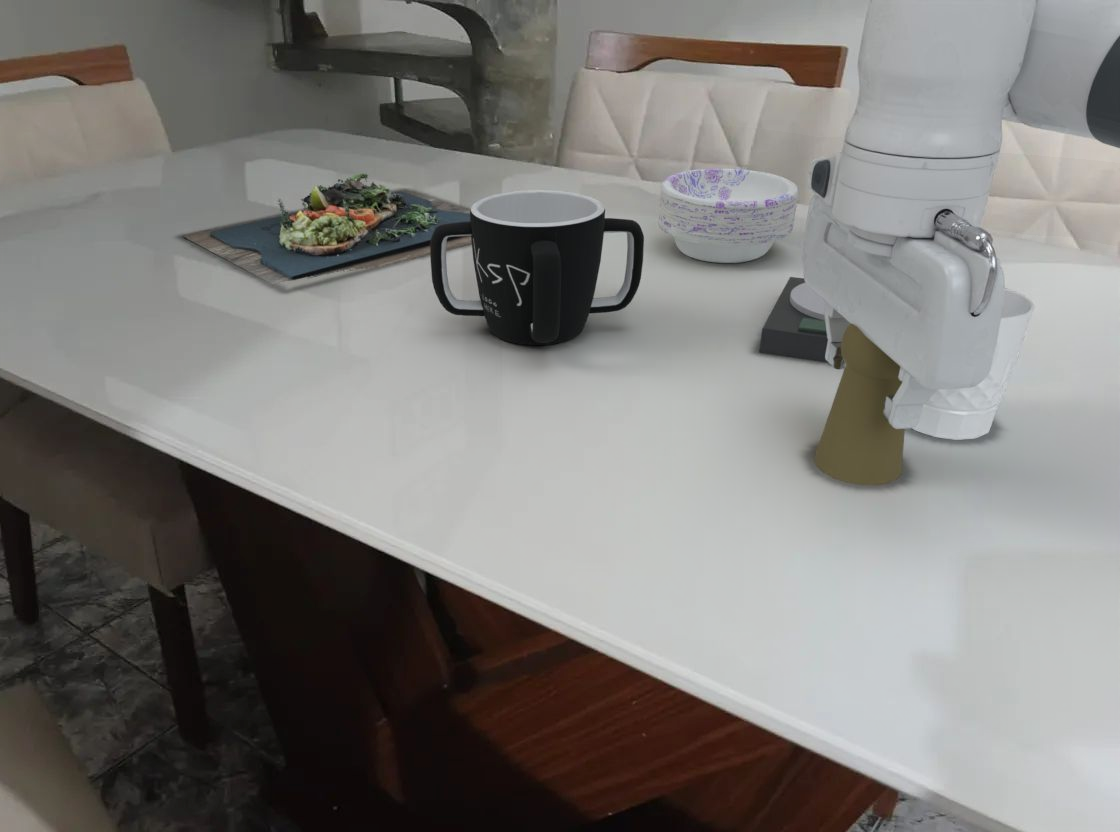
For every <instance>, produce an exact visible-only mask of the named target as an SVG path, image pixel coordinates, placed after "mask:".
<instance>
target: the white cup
mask: <svg viewBox="0 0 1120 832" xmlns="http://www.w3.org/2000/svg"><path fill="white" fill-rule="evenodd" d="M1034 311H1035V303H1034V302H1033V301H1032V300H1031V299H1030V297H1028V296H1026V295H1024V294H1022V293H1020V292H1018V291H1016V290H1013V289H1010V288H1007V287H1005V289H1004V301H1003V308H1002V315H1001V321H1000V327H999V333H998V338H997V343H996V348H995V353H994V357H993V362H992V366H991V369H990V372H989V374H988V376H987V377H986V378H985V379H984V380H983V381H982V382H980V383H979V384H978V385H977V386H975V387H970V388H959V389H937V390H936V392H935V393H934V394H933V395H932V396H931V397H930V398H929V399H928V400H927V402H926V403H925V404H923V407H922V411H921V415H920V419H919V422H918V424H917V425H916V426H915V427H913V428H911V429H912V430H914V431H915V432H918V433H921V434H924V435H927V436H930V437H934V438H937V439H944V440H954V441H962V440H974V439H978V438H980V437H983V436H985V435H987V434H989V432H990V430H991V428H992V425H993V422H994V419H995V416H996V414H997V409H998V408H999V405H1000V402H1001V401H1002V400H1003V399H1004V396H1005V393H1006V390H1007V387H1008V385H1009V383H1010V380H1011V377H1012V373H1013V370H1014V368H1015V366H1016V364H1017V362H1018V361H1017V360H1018V357H1019V355H1020V352H1021V349H1022V345H1023V342H1024V339H1025V337H1026V333H1027V331H1028V328H1029V325H1030V323H1031V320H1032V317H1033V313H1034Z"/></svg>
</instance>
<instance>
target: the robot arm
mask: <svg viewBox="0 0 1120 832" xmlns="http://www.w3.org/2000/svg"><path fill="white" fill-rule="evenodd" d="M857 75H858V88H859V89H858V98H857V103H856V107H855V109H854V112H853V115H852V116H851V119H850V121H849V122H848V124H847V127H846V130H845V133H844V140H843V144H842V150H841V152H837V153H835V154H829V155H824V156H820V157H817V158H814V159H813V160H811V162H810V165H809V170H808V174H807V175H808V176H807V188H808V189H809V191H810V192H811V193H813V196H812V197H811V199H810V201H809V205H808V208H807V214H806V221H805V228H804V237H803V247H802V257H801V266H802V275H803V278H804V280H805V283H806V285H807V286H808V287H810V288H811V289H812V290H813V291H814V292H815V293H817V294H818V295H819V296H820V297H821V298H822V299H823V300H825V301H826V305H825V310H824V315H825V323H826V331H827V338H828V343H827V348H826V354H825V359H826V360H827V361H828V362H829V363H828V364H829V365H830V366H832V367H833V368H834V369H836V370H842V369H845V366H846V363H845V361H844V359H843V357H842V354H841V343H842V338H843V334H844V332H845V330H846V328H847V327H848V326H849V325H850V324H854V325H855V326H857V327H858V328H859V329H860V330H861V331H862V332H863V334H864V335H865V336H866V337H867V338H868V339H869V340H870V341H872V342H873V343H874V344H875V345H876V346H877V347H878V348H880V349H881V350H882V351H883V352H884V353H885V354H886V355H888V356H889V357H890V358H891V359H892V360H893V361H894V362H896V363H897V364H898V365H899V366H900V371H899V376H898V378H899V380H900V381H903V382H902V384H901V386H900V387H899V389H898V391H897V392H896V394H895V395H886V400H885V409H884V410H883V413H882V415H883V417H884V418H885V419H886V420H887V421H888V423H889V424H891V426H892V427H894V428H895V429H905V430H906V429H912V428H913V427H915V426H916V425H917V424H918V422H919V419H920V415H921V411H922V407H923V404H925V403H926V402H927V400H928V399H929V398H930V397H931V396H932V395H933V394H934V393H935V392H936V390H937V389H959V388H970V387H975V386H977V385H978V384H979V383H980V382H982V381H983V380H984V379H985V378H986V377H987V376H988V374H989V372H990V369H991V366H992V362H993V357H994V353H995V348H996V343H997V338H998V333H999V327H1000V321H1001V315H1002V308H1003V301H1004V289H1005V288H1006V286H1005V285H1006V283H1005V273H1004V270H1003V268H1002V266H1001V261H1000V258H998V257H997V254H996V250H995V247H994V246H993V242H994V239H993V236H992V235H991V233H989V231H987V230H986V229H984V228H982V227H981V226H982V222H983V220H984V215H985V212H986V207H987V204H988V199H989V196H990V192H991V188H992V185H993V181H994V177H995V174H996V173H995V172H996V169H997V164H998V161H999V157H1000V154H1001V148H1002V144H1003V126H1002V125H1003V121H1006V122H1012V123H1016V124H1022V125H1024V126H1027V127H1030V128H1034V129H1037V130H1038V129H1039V130H1044V131H1049V132H1055V133H1059V134H1064V135H1071V136H1075V137H1080V138H1085V139H1086V138H1087V139H1091V140H1096V141H1098V142H1100V143H1101V144H1104V145H1106V146H1107V145H1108V146H1111V147H1115V148H1118V149H1120V0H869V1H868V5H867V10H866V14H865V18H864V23H863V29H862V35H861V40H860V45H859V52H858V58H857Z"/></svg>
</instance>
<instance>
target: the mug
mask: <svg viewBox="0 0 1120 832" xmlns="http://www.w3.org/2000/svg"><path fill="white" fill-rule="evenodd" d="M469 210H470V221H469V222H457V223H449V224H443V225H440V226H438V227H437V228H436V229H435V230H434V232H433V235H432V237H431V241H430V255H429V256H430V272H431V282H432V286H433V290H434V292H435V295H436V297H437V299H438V301H439V303H440V304H441V306H442V307H443V308H444V310H445V311H447V312H448V313H450V314H452V315H454V316H463V317H484V319H485V321H486V324H487V328H488V329H489V330H490V332H491V333H492V334H493V335H494V336H496V337H498V338H499V339H501V340H504V341H506V342H510V343H513V344H516V345H517V344H518V345H525V346H546V345H553V344H554V345H555V344H560V343H563V342H566V341H569V340H572V339H573V338H574V337H576V336H578V335H580V334H581V333H582V332H583V330H584V328H585V326H586V324H587V321H588V318H589V315H590V314H604V313H613V312H614V313H615V312H618V311H621V310H623V309H626V307H628V305H629V304H630V303H631V302H632V301H633V299H634V297H635V295H636V294H637V292H638V290H639V288H640V287H639V286H640V284H641V279H642V275H643V274H642V271H643V264H644V250H645V249H644V247H645V246H644V245H645V235H644V232H643V229H642V227H641V225H640V223H638V222H637V221H635V220H634V219H627V218H616V217H615V218H613V217H606V208H605V205H604V204H603V203H602V202H601V201H600V200H597V199H596V198H594V197H591V196H589V195H585V194H583V193H576V192H571V191H567V190H566V191H565V190H554V189H553V190H552V189H526V190H525V189H523V190H512V191H507V192H501V193H496V194H492V195H489V196H486V197H484V198H480V199H478V200H477V201H476V202H475V203H473V204H472V205H471V207H470V209H469ZM607 233H608V234H609V233H611V234H612V233H613V234H614V233H626V241H627V245H626V246H627V250H626V265H625V272H624V280H623V282H622V285H621V287H620V289H619V291H618V292H617V294H615V295H611V296H606V297H605V296H603V297H595V291H596V288H597V282H598V277H599V272H600V266H601V262H602V253H603V245H604V237H605V236H604V235H605V234H607ZM452 236H471V241H472V244H471V251H472V260H473V261H472V262H473V267H474V272H475V273H474V274H475V277H476V284H477V290H478V295H479V300H462V299H457V298H456V296H455V295H454V294H453V293H452V290H451V288H450V283H449V277H448V266H447V250H446V244H447V238H448V237H452Z"/></svg>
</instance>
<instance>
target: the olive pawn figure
mask: <svg viewBox="0 0 1120 832" xmlns="http://www.w3.org/2000/svg"><path fill="white" fill-rule="evenodd" d="M841 354H842V357H843V359H844V361H845V363H846V366H845V368H843V371H842V374H841V378H840V381H839V383H838V387H837V388H836V392H835V395H834V399H833V401H832V404H831V407H830V409H829V413H828V415H827V419H826V420H825V421H826V422H825V425H824V427H823V430H822V433H821V436H820V438H819V442H818V445H817V447H816V451H815V454H814V458H813V461H814V464H815V466H816V468H818V469H819V470H820V471H821V472H822V473H823V474H825V475H827V476H829V477H830V478H832V479H835V480H838V481H841V482H844V483H847V484H852V485H859V486H880V485H887V484H891V483H892V482H895V481H897V480H898V479H899V477H901V475H902V471H903V458H904V457H903V456H904V445H905V444H904V443H905V434H906V433H905V431H906V429H895V428H894V427H892V426H891V424H889V423H888V421H887V420H886V419H885V418H884V417H883V415H882V413H883V410H884V409H885V400H886V395H895V394H896V392H897V391H898V389H899V387H900V386H901V384H902V382H903V381H900V380H899V378H898V376H899V371H900V366H899V365H898V364H897V363H896V362H894V361H893V360H892V359H891V358H890V357H889V356H888V355H886V354H885V353H884V352H883V351H882V350H881V349H880V348H878V347H877V346H876V345H875V344H874V343H873V342H872V341H870V340H869V339H868V338H867V337H866V336H865V335H864V334H863V332H862V331H861V330H860V329H859V328H858V327H857V326H855V325H854V324H850V325H849V326H848V327H847V328H846V330H845V332H844V334H843V338H842V343H841Z"/></svg>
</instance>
